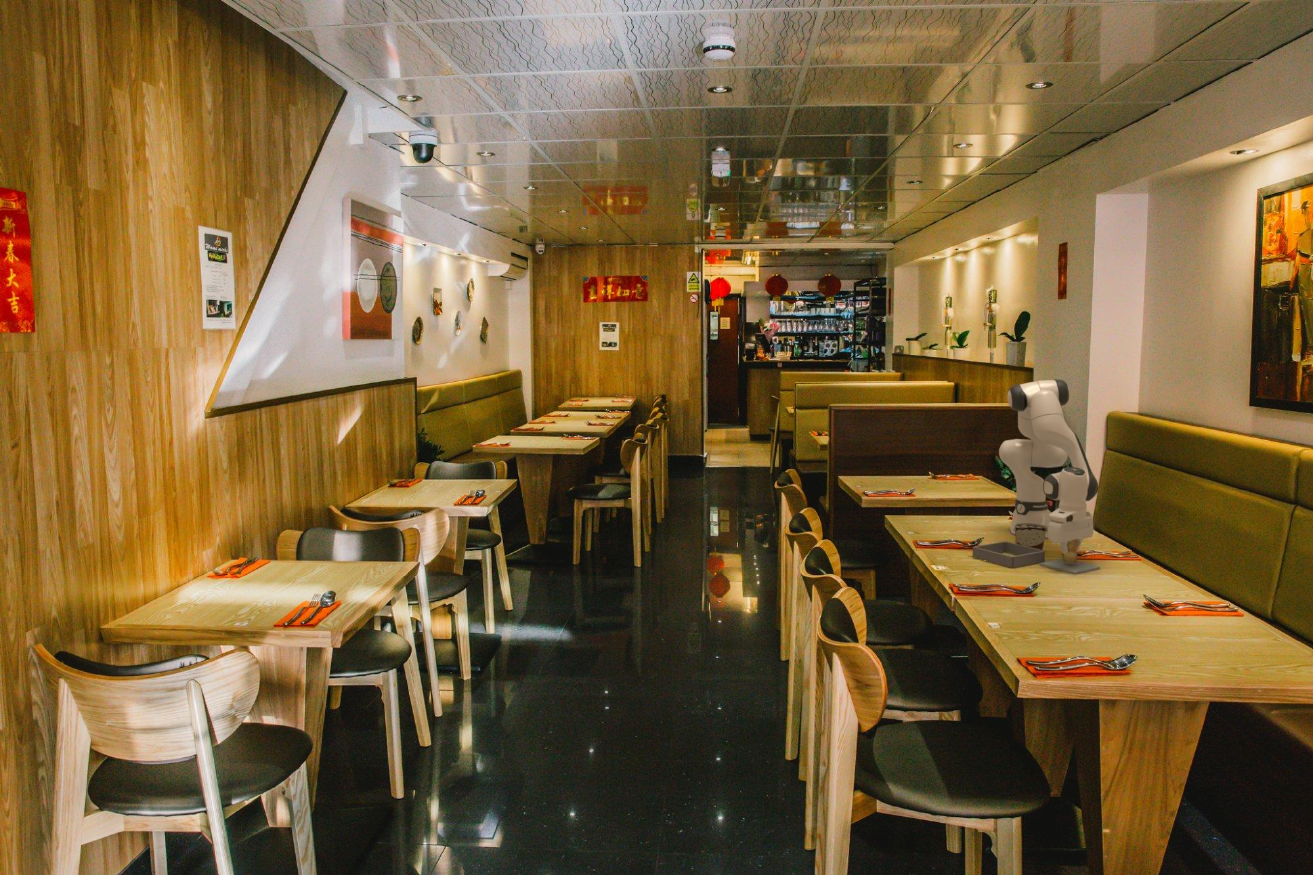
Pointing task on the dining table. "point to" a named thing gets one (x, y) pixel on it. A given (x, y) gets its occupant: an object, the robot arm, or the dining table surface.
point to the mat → (1070, 566)
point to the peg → (1071, 552)
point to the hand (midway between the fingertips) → (1070, 552)
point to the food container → (1030, 535)
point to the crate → (1023, 553)
